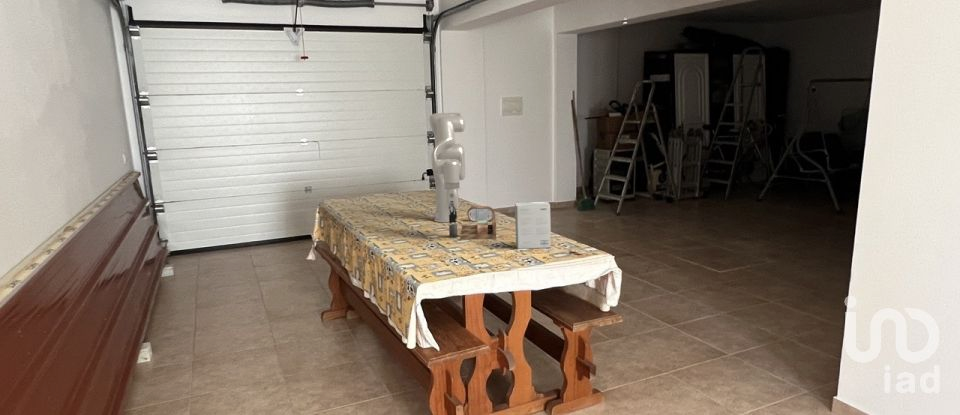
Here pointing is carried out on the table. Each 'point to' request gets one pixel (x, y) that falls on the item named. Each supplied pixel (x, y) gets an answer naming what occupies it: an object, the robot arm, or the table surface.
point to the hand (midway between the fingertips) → (453, 220)
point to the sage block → (482, 222)
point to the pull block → (453, 234)
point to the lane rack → (490, 231)
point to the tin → (480, 213)
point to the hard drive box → (533, 225)
